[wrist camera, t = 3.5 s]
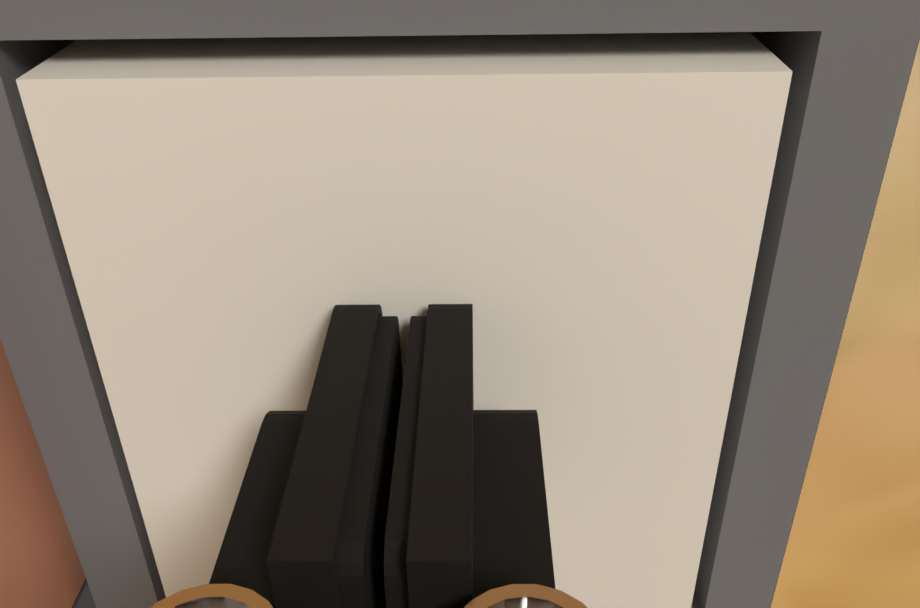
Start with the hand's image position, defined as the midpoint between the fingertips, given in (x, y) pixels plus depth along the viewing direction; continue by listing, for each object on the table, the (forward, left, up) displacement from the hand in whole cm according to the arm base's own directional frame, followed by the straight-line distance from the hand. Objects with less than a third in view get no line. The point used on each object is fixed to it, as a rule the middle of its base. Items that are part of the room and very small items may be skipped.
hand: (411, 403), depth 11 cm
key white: (0, 0, -2) cm, 3 cm away
